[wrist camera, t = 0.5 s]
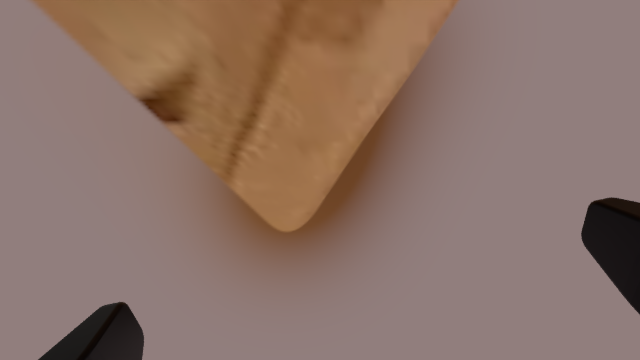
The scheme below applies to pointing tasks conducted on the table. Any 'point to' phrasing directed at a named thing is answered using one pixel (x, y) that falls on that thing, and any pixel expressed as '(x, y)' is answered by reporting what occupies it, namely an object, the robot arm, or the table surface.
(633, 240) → the robot arm
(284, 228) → the table surface
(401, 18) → the table surface
